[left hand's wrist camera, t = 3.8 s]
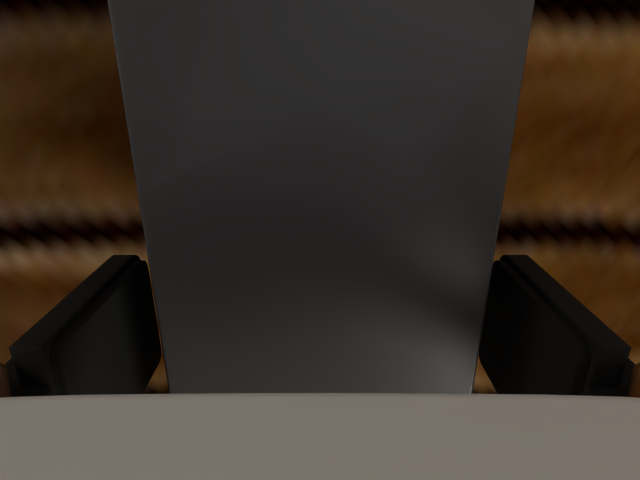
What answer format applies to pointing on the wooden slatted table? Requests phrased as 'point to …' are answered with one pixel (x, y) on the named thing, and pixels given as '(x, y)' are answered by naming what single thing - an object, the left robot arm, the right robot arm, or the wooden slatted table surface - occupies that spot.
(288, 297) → the cabinet
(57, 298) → the wooden slatted table surface
